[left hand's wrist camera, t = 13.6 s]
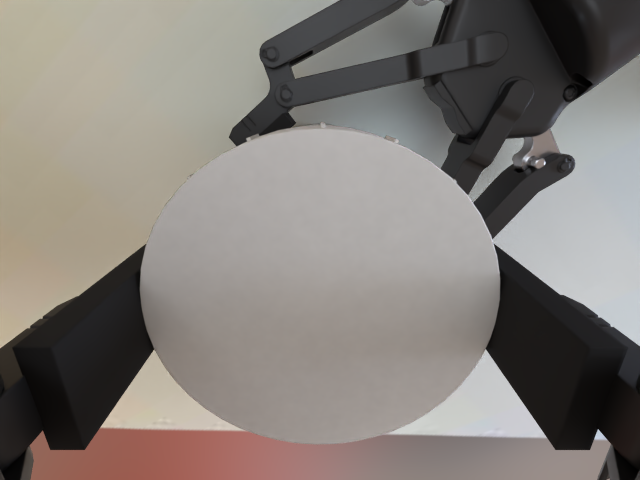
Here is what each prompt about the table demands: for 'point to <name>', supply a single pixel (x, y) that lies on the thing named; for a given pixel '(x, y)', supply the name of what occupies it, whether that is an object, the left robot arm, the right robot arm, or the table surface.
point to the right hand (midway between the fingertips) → (264, 253)
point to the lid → (320, 285)
